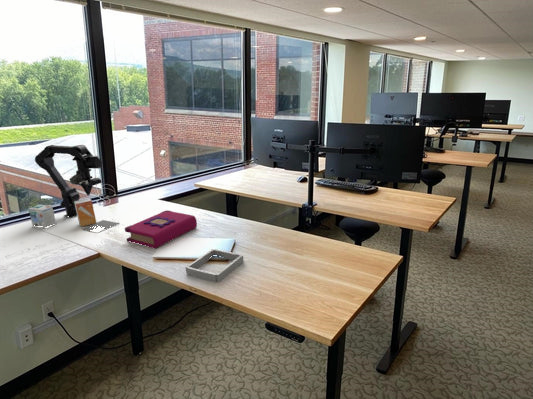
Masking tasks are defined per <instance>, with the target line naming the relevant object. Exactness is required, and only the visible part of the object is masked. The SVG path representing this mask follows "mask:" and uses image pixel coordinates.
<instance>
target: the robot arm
mask: <svg viewBox="0 0 533 399" xmlns="http://www.w3.org/2000/svg"><path fill="white" fill-rule="evenodd" d="M56 154H60V155H61V154H62V155H63V154H64V155H70V156H71V157H73V158H72V159H71V160H72V161H74V162H76V167H77V170H76V171H75V174H74V175H72V176H71V177H69V179H68V180H69V181H70V183H71V185H76V186H77V185H78V186H80V187H81V188H82V189H83V190H84V193H86V195H87V196H90V195H91V192H92V189H93V186H96V185H99V184H101V183H102V179H101V178H100V177H93V175H91V172H92V169H95V170H96V169H97V170H98V169H101V167H102V166H103V164H102V160H101V158H99V156H98V155H93V154H92V153H91V151H90V150H89V148H88V147H87V146H86V145H85V144H79V145H78V144H77V145H73V146H69V145H55V144H50V145H47V146H45V147H44V149H42V150H41V151H40V152H39V153H38V154H37V155H35V156H34V158H35V159H34V162H35V163H36V165H37V166H38V167H39V168H41V169H42V170H44V171H46V172H47V174H48V175H49V177H50V178H51V180H52V181H53V183H54V184H55V185H56V186H57V188H58V189H59V190H60V193H61V198H62V201H61V202H60V205H59V206H60V207H61V208H63V209H64V210H65V213H66V214H63V215H64V216H63V217H66V216H69V217H68V218H74V217H77V216H76V215H77V212H76V208H75V204H74V202H75V201H79V200H81V199H80V198H81V196H80V192H78V190H77V189H76V188H75V187H71V186H69V184H68V183H67V181H66V180H65V179H64V177H63V176H62V174H61V173H60V172H59V170H58V169H57V168H56V166H55V160H54V156H55V155H56ZM73 216H74V217H73Z"/></svg>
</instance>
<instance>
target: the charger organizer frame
mask: <svg viewBox="0 0 533 399" xmlns="http://www.w3.org/2000/svg"><path fill="white" fill-rule="evenodd" d="M213 255H217V256H221V257H224V258H223V259H225V258H226V259H225V260H230V261H231V262H230V263H229V264H227V265H226V266H225V267H224V268H222V269H221V270H220V271H218V272H217V273H215V272H210V271H207V270H202V269H199V267H201V266H203V265H204V264H205V263H206V262H208V261H209V260H210V259H209V258H210V257H211V256H213ZM243 263H244V255H242V254H241V253H237V252H230V251H227V250H222V249H218V248H214V249H213V248H212V249H210V250H209V251H207V252H206V253H204V254H202V255H201V256H199V257H198V258H197V259H195V260H194V261H192V262H190V263H189V264H187V265H186V266H185V273H187V274H186V275H187V276H190V275H191V277H194V276H195V277H194V278H199V279H203V280H205V281H209V282H214V283H219V282H221V281H222V280H224V279H225V278H226V277H227V276H228V275H229V274H232V272H233V271H235V270H236V269H237V268H239V266H240V265H242V264H243Z"/></svg>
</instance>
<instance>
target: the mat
mask: <svg viewBox="0 0 533 399" xmlns="http://www.w3.org/2000/svg"><path fill="white" fill-rule="evenodd" d="M116 224H118V225H119V224H120V222H115V221H110V220H106V219H105V220H104V219H102V220H100V221H96V223H95V224H90V225H86V226H83V228H81V229H83V230H82V231H85V230H87V231H86V232H90V230H93V229H94V227H95V226H96V228H97V227H98V226H100V227H101V226H102V227H105V228H104V229H106V230H108V229H110V228H109V227H110V226H111V228H113V227H115V226H117V225H116ZM97 225H98V226H97ZM114 225H115V226H114ZM93 226H94V227H93ZM112 226H113V227H112ZM90 227H91V228H90ZM92 227H93V228H92ZM102 227H101V228H102ZM96 228H95V229H96ZM107 228H108V229H107Z"/></svg>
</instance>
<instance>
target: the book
mask: <svg viewBox="0 0 533 399" xmlns="http://www.w3.org/2000/svg"><path fill="white" fill-rule="evenodd" d="M197 227H198V222H197V218H196V216H194V214H193V215H192V214H187V213H182V212H176V211H172V210H168V209H167V210H163V211H161V212H160V213H157V214H154V215H152V216H151V217H148V218H145V219H143V220H141V221H138V222H136V223H134V224H132V225H131V224H130V225H128V226H125V227H124V231H125V233H128V234H129V233H130V236H129V237H127V238H126V242H127V241H131V242H135V243H139V244H142V245H146V246H149V247H148V248H150V247H153V248H156V249H158V248H159V246H160V247H162V246H164V245H165V244H167V243H169V242H171V241H173V240H175V239H176V238H178V237H179V238H180V236H183V235H184V234H186V233H188V232H191V231H192V230H194V229H197ZM172 239H173V240H172ZM170 240H171V241H170ZM168 241H169V242H168ZM166 242H167V243H166ZM135 243H134V244H135ZM164 243H165V244H164ZM139 244H138V245H139ZM142 245H141V246H142ZM146 246H145V247H146ZM157 247H158V248H157ZM153 248H152V249H153Z"/></svg>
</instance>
